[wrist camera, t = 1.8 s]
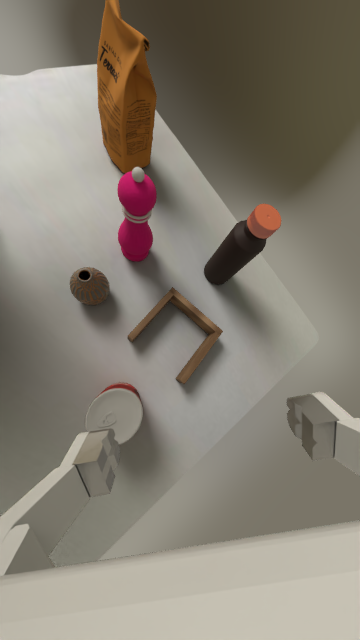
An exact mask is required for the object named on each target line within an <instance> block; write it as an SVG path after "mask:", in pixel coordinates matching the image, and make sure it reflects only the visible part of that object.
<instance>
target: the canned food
mask: <svg viewBox="0 0 360 640" xmlns="http://www.w3.org/2000/svg"><path fill="white" fill-rule="evenodd" d="M142 418H143V407H142V403H141V400H140V396H139V393H138V392H137V390H136V389H135V388H134V387H133V386H132V385H130V384H127V383H116V384H113V385H111V386H109V387H107V388H106V389H105V390H104V391H103V392H102V393H101V394H99V395H98V396H97V397H96V398H95V399H94V401H93V402H92V403H91V405H90V407H89V408H88V411H87V414H86V418H85V428H86V431H87V432H90V431H95V430H102V429H109V428H112V429H113V430H114V432H115V437H114V439H115V440H116V441H117V442H118V443H119V445H121V444H123V443H125V442H127V441H128V440H129V439H131V438H132V437H133V436H134V435H135V433H136V432H137V430H138V429H139V427H140V425H141V422H142Z"/></svg>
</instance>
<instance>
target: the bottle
mask: <svg viewBox="0 0 360 640" xmlns="http://www.w3.org/2000/svg"><path fill="white" fill-rule="evenodd" d="M280 225H281V217H280V215H279V213H278V211H277V210H276V209H275V208H274V207H272V206H270V205H268V204H260V205H258V206H257V207H256V208H255V209H254V211H253V212H252V213H251V215H250V216H249V217H248V219H247V220H245V221H240V222H239V223H237V224H236V225H235V226H234V228H233V229H232V230H231V232H230V233H229V234H228V236H227V237H226V238H225V240H224V241H223V242H222V244H221V245H220V246H219V248H218V249H217V250H216V252H215V253H214V254H213V256H212V257H211V258H210V260H209V261H208V262H207V264H206V265H205V268H204V273H205V276H206V278H207V279H208V281H210V282H211V283H213V284H216V285H220V284H224V283H225V282H226V281H228V280H229V279H230V278H231V277H232V276H233V275H235V274H236V273H237V272H238V271H239V270H240V269H241V268H243V267H244V266H245V265H246V264H247V263H248V262H250V261H251V260H252V259H253V258H254V257H255V256H256V255H258V254H259V253H260V252H261V251H262V250H263V248H264V247H265V244H266V239H267V238H268V237H269V236H271V235H272V234H273V233H274V232H275V231H276V230H277V229H278V228H279V227H280Z"/></svg>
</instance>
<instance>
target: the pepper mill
mask: <svg viewBox="0 0 360 640" xmlns="http://www.w3.org/2000/svg"><path fill="white" fill-rule="evenodd" d="M118 197H119V200H120V202H121V204H122V212H123V214H124V216H125V219H124V221H123V223H122V224H121V226H120V228H119V232H118V240H119V243H120V245H121V250H122V253H123V255H124V256H125V257H126V258H127V259H129V260H131V261H142V260H144V259H145V258H146V257H147V256H148V253H149V249H150V248H151V246H152V242H153V235H152V232H151V229H150V227H149V225H148V219H149V218H150V216H151V211H152V208H153V207H154V205H155V203H156V188H155V185H154V183H153V182H152V180H151V179H150V178H149V177H148V176H147V175H146V174H144V171H143V170H142V169H141V168H140V167H135V168H134V169H133V170H132V171H131V172H127V173H126V174H124V175H123V176H122V177H121V179H120V181H119V184H118Z"/></svg>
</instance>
